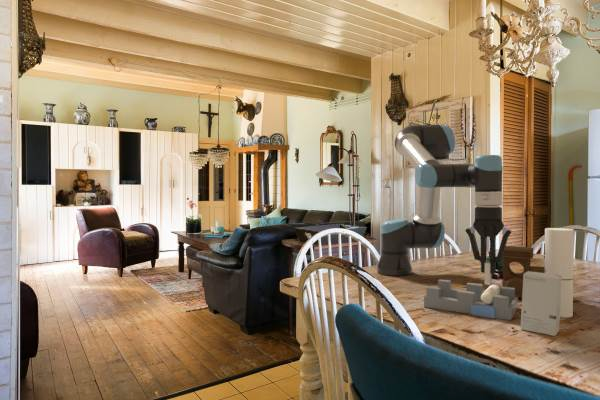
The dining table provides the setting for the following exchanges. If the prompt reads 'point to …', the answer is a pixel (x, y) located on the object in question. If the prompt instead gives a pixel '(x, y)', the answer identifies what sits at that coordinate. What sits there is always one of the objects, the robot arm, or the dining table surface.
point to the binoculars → (496, 268)
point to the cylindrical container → (561, 263)
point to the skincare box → (541, 303)
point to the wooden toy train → (522, 257)
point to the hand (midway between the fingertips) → (488, 283)
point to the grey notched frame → (471, 300)
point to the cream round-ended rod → (490, 294)
